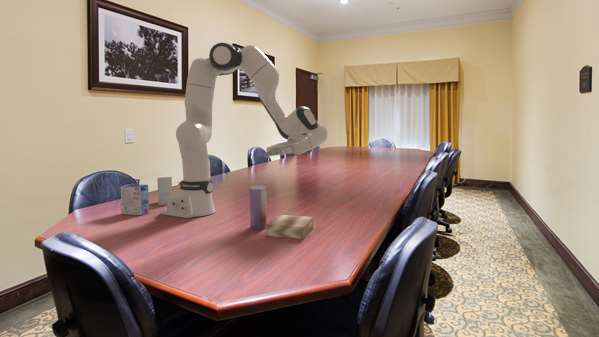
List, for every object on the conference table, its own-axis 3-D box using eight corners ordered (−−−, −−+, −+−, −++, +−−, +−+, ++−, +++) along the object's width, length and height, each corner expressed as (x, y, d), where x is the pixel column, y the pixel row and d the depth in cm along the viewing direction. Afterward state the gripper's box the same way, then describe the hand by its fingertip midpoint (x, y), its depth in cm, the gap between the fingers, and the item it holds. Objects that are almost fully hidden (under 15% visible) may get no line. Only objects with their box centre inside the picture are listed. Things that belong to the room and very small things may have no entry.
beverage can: (253, 230, 129) (252, 189, 127) (248, 226, 134) (247, 186, 132) (269, 228, 131) (268, 187, 129) (263, 224, 137) (262, 184, 135)
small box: (173, 204, 170) (171, 177, 168) (158, 205, 168) (156, 177, 166) (172, 200, 177) (171, 174, 176) (158, 201, 175) (157, 175, 174)
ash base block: (266, 235, 123) (266, 224, 122) (279, 225, 135) (279, 214, 135) (303, 239, 119) (303, 227, 119) (313, 227, 132) (313, 217, 131)
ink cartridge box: (150, 212, 155) (148, 179, 153) (142, 215, 150) (140, 181, 148) (130, 211, 157) (127, 178, 155) (121, 214, 152) (118, 180, 150)
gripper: (279, 139, 154) (254, 148, 145) (313, 133, 139) (288, 143, 130) (283, 153, 155) (259, 163, 146) (317, 148, 141) (293, 159, 131)
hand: (273, 154), depth 138 cm, fingers open, 8 cm apart
